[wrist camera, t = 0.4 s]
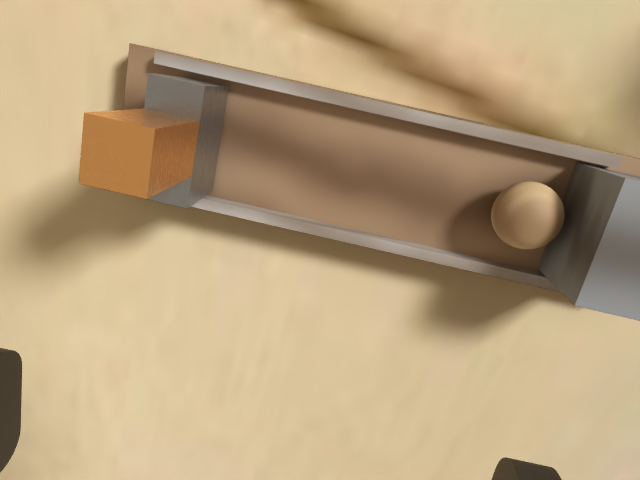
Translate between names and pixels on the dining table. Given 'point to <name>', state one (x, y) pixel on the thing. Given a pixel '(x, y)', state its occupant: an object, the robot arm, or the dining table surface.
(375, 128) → the base
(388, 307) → the dining table surface
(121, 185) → the sliding jaw
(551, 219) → the smooth beige ball
